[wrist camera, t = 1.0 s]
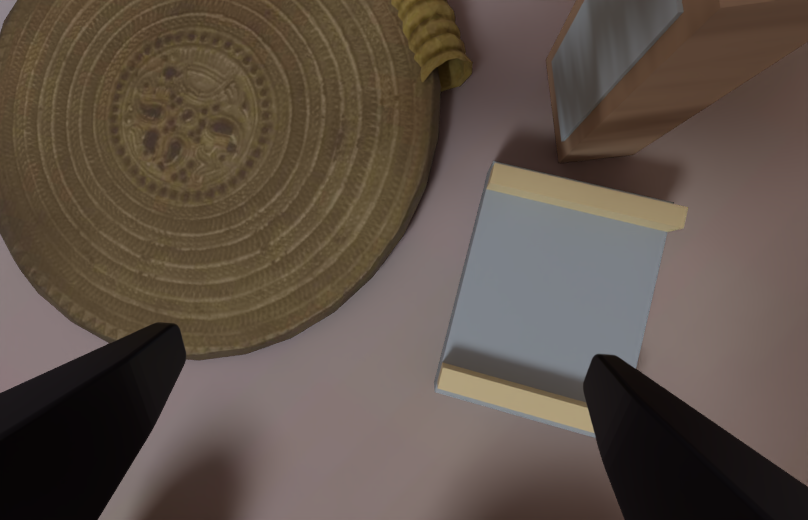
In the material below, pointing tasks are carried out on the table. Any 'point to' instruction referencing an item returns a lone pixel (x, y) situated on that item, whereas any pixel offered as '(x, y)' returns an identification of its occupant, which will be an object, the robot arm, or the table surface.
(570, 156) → the wooden box
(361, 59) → the decorative disc
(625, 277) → the rail board
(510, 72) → the table surface
